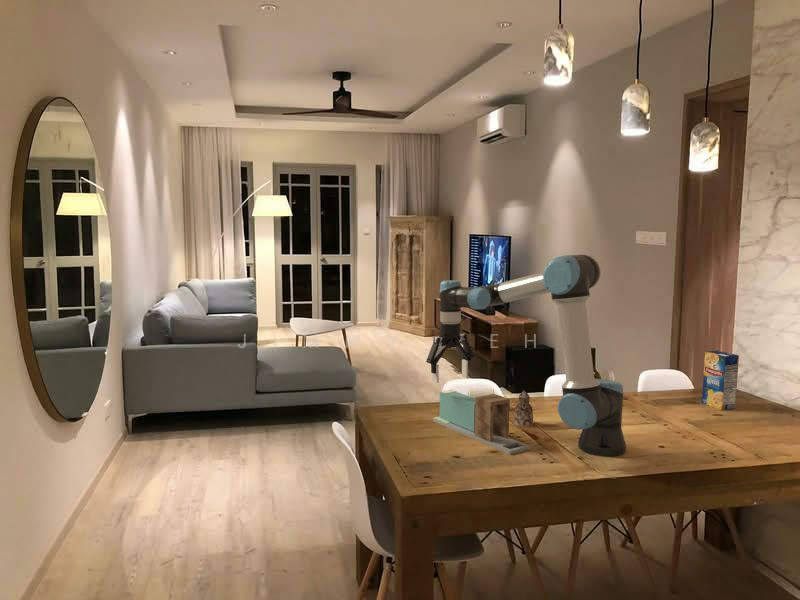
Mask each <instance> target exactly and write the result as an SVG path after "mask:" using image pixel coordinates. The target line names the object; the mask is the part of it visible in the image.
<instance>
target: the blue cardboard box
mask: <svg viewBox="0 0 800 600" xmlns="http://www.w3.org/2000/svg"><path fill="white" fill-rule="evenodd" d="M739 359H740V355H738V354H734V353H730V352H726V351H722V350H719V349H718V350H717V349H716V350H705V351H704V360H703V361H704V362H703V378H702V379H703V380H702V396H701V404H702V403H703V404H702V405H705V404H706V406H708V405H709V407H711V408H714V409H717V410H720V411H728V410H735V409H736V405H737V402H736V401H737V389H738V375H739V363H740V362H739Z"/></svg>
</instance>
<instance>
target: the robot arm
mask: <svg viewBox="0 0 800 600" xmlns="http://www.w3.org/2000/svg"><path fill="white" fill-rule="evenodd" d="M600 276H601V268H600V265H599V263H598V262H597V260H595V258H593V257H592V256H589V255H587V254H571V255H569V254H567V255H566V254H565V255H561V256H557V257H553V258H552V259H551V260H550V261H548V263H547V264H546V265H545V267H544V269H543V271H541V272H536V273H533V274H529V275H526V276H523V277H518V278H514V279H511V280H507V281H504V282H499V283H494V284H491V285H481V286H475V287H473V286H472V287H471V286H470V287H469V286H462V285H461V281H460V280H456V279H455V280H449V279H448V280H442V281H441V282H440V287H439V288H440V289H439V305H440V308H439V309H440V310H439V317H440V318H439V320H440V321H439V322H441V323H440V324H439V325H440V326H439V330H440V331H439V332H440V337H437V336H433V340H432V341H433V342H432V345H431V348H430V350H429V353H428V356H427V358H426V361H425V362H426V363H427V364H430V372H431V374H432V382H433V383H437V384H438V383H440V382H439V381H440V378H439V377H440V372H439V370H440V366H439V364H438V363H439V361H440V360H441V358H442V356H443V355H444V353H445V351H447V350H448V349H451V348H454V349H456V351H458V353H459V354H460V355H461V357H462V358H463V359H461V377H462V378H465V379H468V378H469V368H470V361H472V359H473V358H474V353H473V350H472V348H471V345H470V343H469V341H468V335H467V334H466V333H461V331H462V330H461V329H462V328H461V327H462V324H461V323H460V322H461V321H462V318H461V317H462V316H461V315H462V313H461V312H462V311H461V309H462V308H464V309H472V310H473V309H474V310H485V309H487V308H488V307H493V306H500V305H503V304H506V303H511V302H515V301H519V300H523V299H527V298H533V297H536V296H540V295H545V294H549V293H550V294H551V301H552V302H553V303H554V304H555V305H557V311H558V319H559V328H560V330H559V331H560V337H561V346H562V354H563V364H564V373H565V381H564V383H563V384H562V385H561V390H562V391H561V392H562V396H561V397H560V400H559V401H558V403H557V413H558V415H559V417H560V419H561V421H562V422H563V423H564V424H565V425H566V426H568V427H569V428H571V429H573V430H579V431H580V430H581V433H580V435H579V437H578V443H577V444H578V448H579V450H581V451H582V452H585V453H587V452H588V454H590V455H596V456H602V457H617V456H620V455H624V454H625V453H626V450H627V444H626V441H625V437H624V432H623V429H622V422H623V421H622V419H623V403H624V399H623V398H624V386H623V384H622V383H621V382H618V381H615V380H609V379H605V378H603V379H601V378H595V374H594V365H593V355H592V347H591V340H590V339H591V336H590V330H589V322H588V321H589V319H588V312H587V301H588V299H589V298H590V297H591V293H590V289H592V288H594V287H595V286H596V285H597V284H598V282H599V281H600ZM460 341H461V342H460ZM616 455H617V456H616Z"/></svg>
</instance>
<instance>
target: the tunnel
mask: <svg viewBox="0 0 800 600" xmlns="http://www.w3.org/2000/svg"><path fill="white" fill-rule="evenodd" d="M510 401H511V399H510V398H508V397H506V396H502V395H499V394H496V393H494V394H490V395H484V396H479V397H475V436H477V437H479V438H481V439H484V440H486V441H488V442H493V433H494V434H496V435H499V436H501V437H504V438H510V436H509V435H510V433H509V432H510Z"/></svg>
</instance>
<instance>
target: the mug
mask: <svg viewBox="0 0 800 600" xmlns="http://www.w3.org/2000/svg"><path fill="white" fill-rule="evenodd" d="M490 394H495V391H494V388H468V389H467V396H470V397H473V398H475V397H479V396H484V395H490Z"/></svg>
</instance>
